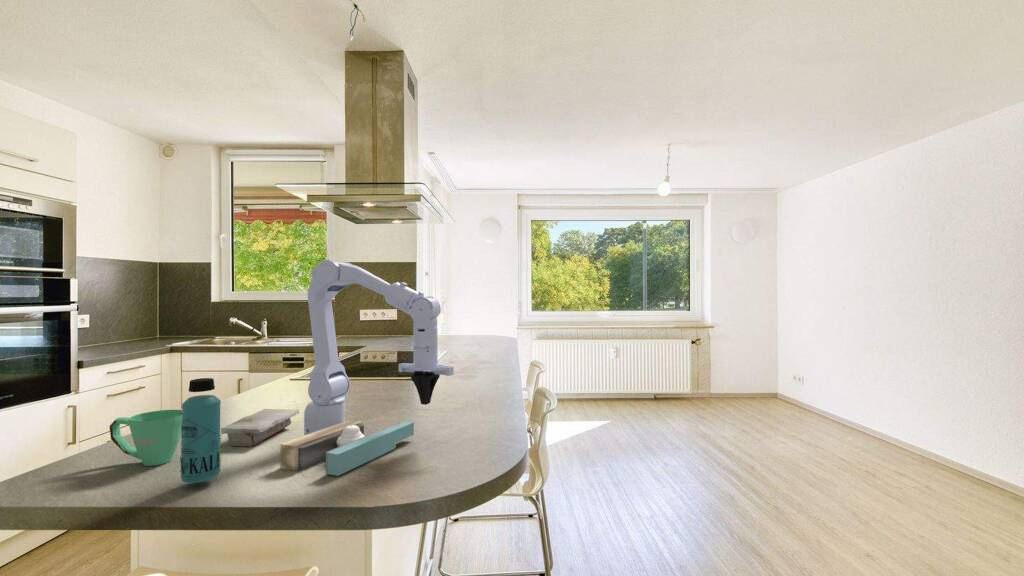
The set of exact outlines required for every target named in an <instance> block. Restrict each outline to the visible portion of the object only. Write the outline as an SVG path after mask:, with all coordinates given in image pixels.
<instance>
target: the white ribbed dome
mask: <svg viewBox="0 0 1024 576" xmlns="http://www.w3.org/2000/svg"><path fill="white" fill-rule="evenodd" d="M365 436H366V435H365V434H364V435H363V434H362V433H361V432H360V428H359V427H358V426H356V425H350V426H347V427H345V428H344V429H343V433H342V434H341V436H340V437H339V438H338V439H337V445H338V447H340V446H343V445H345V444H348V443H350V442H353V441H355V440H358V439H360V438H363V437H365Z"/></svg>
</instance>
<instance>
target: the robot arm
mask: <svg viewBox="0 0 1024 576" xmlns="http://www.w3.org/2000/svg"><path fill="white" fill-rule="evenodd" d="M310 272H311V273H310V274H311V281H310V284H309V287H308V291H307V302H308V303H307V304H308V311H309V319H310V329H311V336H312V345H313V354H314V361H315V365H314V367H313V369H312V370H311V372H310V374H309V384H308V389H307V394H308V397H309V398H310V400H311V401H310V402H308V403H307V405H306V407H305V409H304V413H303V419H304V420H303V423H304V425H303V426H304V427H303V428H304V430H303V434H304V435H303V436H305V435H308V434H311V433H313V432H316V431H319V430H322V429H325V428H328V427H331V426H334V425H337V424H340V423H343V422H345V421H346V394H347V393H348V392H349V390H350V388H351V381H350V378H349V377H348V375H347V372H346V368H345V366H344V365H343V364H342V363H341V361H339V351H338V343H337V336H336V335H337V334H336V333H337V332H336V326H335V318H334V311H333V310H334V309H333V302H332V301H333V299H334V298H335V296H337V295H338V293H339V292H341V291H342V290H344V289H346V288H347V287H349V286H350V285H352V284H357V285H360V286H362V287H364V288H366V289H369V290H370V291H372V292H375V293H377V294H379V295H382V296H383V297H384V300H385V302H386V303H387V304H388V305H390V306H392V307H394V308H396V309H398V310H401V311H402V312H404V313H406V314H407V315H409V316H410V318H411V319H412V320H413V327H412V328H413V330H412V331H413V332H412V333H413V336H412V337H413V338H412V339H413V343H412V344H413V348H412V351H413V352H412V353H413V355H412V356H413V362H412V363H411V362H410V363H408V362H402V363H398V373H404V372H405V373H414V374H413V375H411V376H410V379H411V381H412V382H413V384H414V386H415V388H416V391H417V393H418V397H419V402H420V404H421V405H428V404H431V401H432V396H433V392H434V389H435V386H436V384H437V383H438V380H439V379H440V376H446V377H450V376H454V373H455V372H454V371H455V369H454V366H451V365H450V366H449V365H445V364H439V363H438V358H439V357H438V341H439V338H438V317H439V315H440V314H441V310H442V308H441V304H440V303H439V301H438V300H437V299H436V298H434V297H433V296H431V295H429V296H425V293H424V292H423V291H417V290H414V289H412V288H411V287H408V283H406V282H404V281H403V282H402V281H401V282H399V281H397V282H394V283H392V284H391V283H389V282H387V281H385V280H384V279H382V278H380V277H378V276H377V275H374V274H373V273H371V272H370V271H368V270H366V269H364V268H362V267H360V266H358V265H355V264H353V263H350V262H347V261H335V260H334V261H333V260H330V259H323V260H320V261H319V262H318V263H317V264H316V265H315V266H314V267H313V268H312V269H311V271H310Z"/></svg>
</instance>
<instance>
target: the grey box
mask: <svg viewBox="0 0 1024 576" xmlns="http://www.w3.org/2000/svg"><path fill="white" fill-rule="evenodd" d="M299 414H300V409H299V408H298V409H297V408H295V409H285V408H284V409H280V408H278V409H276V408H275V409H273V408H264V409H261V410H260V411H257V412H254V413H252V414H251V415H247V416H244V417H242V418H240V419H238V420H236V421H234V422H232V423H230V424H228V425H225V426H223V427H220V435H224V434H227V439H228V441H227V443H228V446H232V447H251V446H255V445H257V444H260V443H261V442H262V441H264V440H265V439H267V438H268V439H269V437H271V436H273V435H275V434H276V433H278V432H280V431H282V430H284V429H286V428H287V427H288V426H290V425H291V424H292V420H291V418H292V417H294V416H297V415H299Z"/></svg>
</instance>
